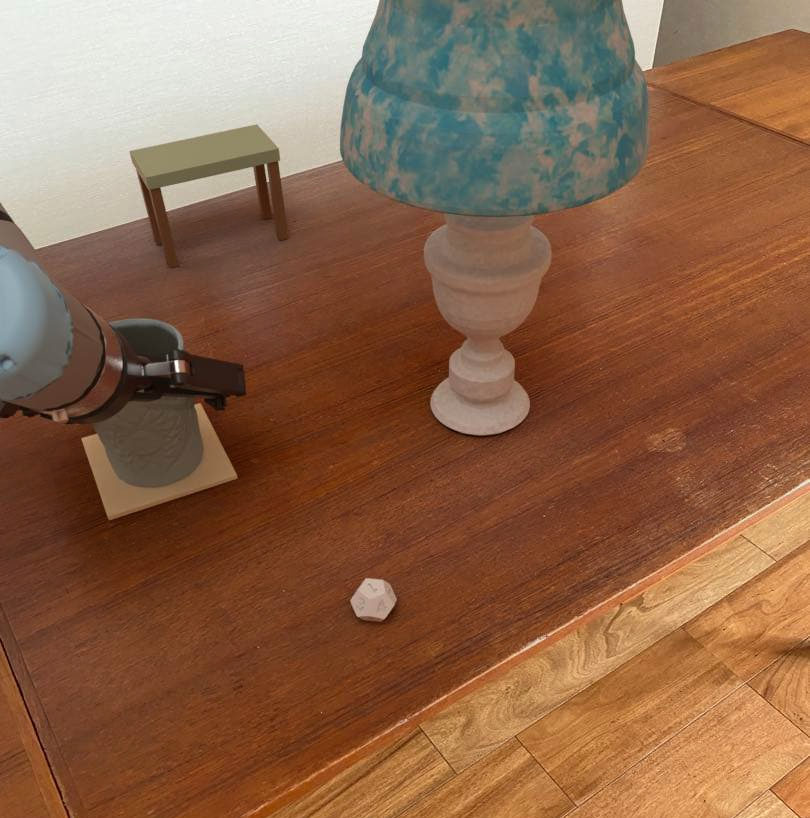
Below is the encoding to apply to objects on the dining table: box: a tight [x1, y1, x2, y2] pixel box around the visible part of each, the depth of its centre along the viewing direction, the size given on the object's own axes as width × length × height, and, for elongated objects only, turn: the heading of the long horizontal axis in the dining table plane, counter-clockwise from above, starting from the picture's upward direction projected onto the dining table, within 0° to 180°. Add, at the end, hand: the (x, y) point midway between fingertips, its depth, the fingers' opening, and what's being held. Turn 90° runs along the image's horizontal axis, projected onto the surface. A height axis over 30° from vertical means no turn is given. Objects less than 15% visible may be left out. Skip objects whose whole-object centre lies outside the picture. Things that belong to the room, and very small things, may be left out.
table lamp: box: [339, 0, 651, 437], centre depth 72 cm, size 24×24×40 cm
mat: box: [80, 402, 238, 521], centre depth 82 cm, size 12×12×1 cm
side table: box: [129, 124, 289, 269], centre depth 107 cm, size 8×16×12 cm, turn 115°
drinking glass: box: [93, 317, 204, 488], centre depth 78 cm, size 10×10×12 cm
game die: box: [349, 577, 398, 623], centre depth 68 cm, size 4×4×3 cm
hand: (144, 402), depth 79 cm, fingers open, 13 cm apart
